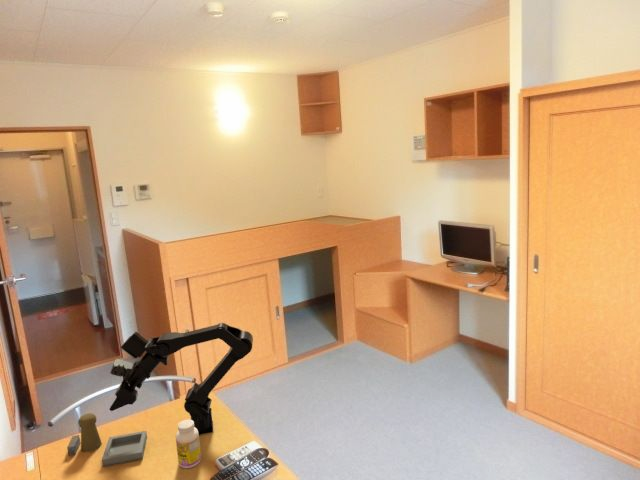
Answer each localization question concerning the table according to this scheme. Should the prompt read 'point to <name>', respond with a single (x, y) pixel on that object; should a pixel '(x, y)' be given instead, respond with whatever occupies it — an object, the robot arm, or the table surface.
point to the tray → (124, 448)
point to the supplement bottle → (188, 444)
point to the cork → (89, 433)
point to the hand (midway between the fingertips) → (113, 402)
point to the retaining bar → (73, 445)
